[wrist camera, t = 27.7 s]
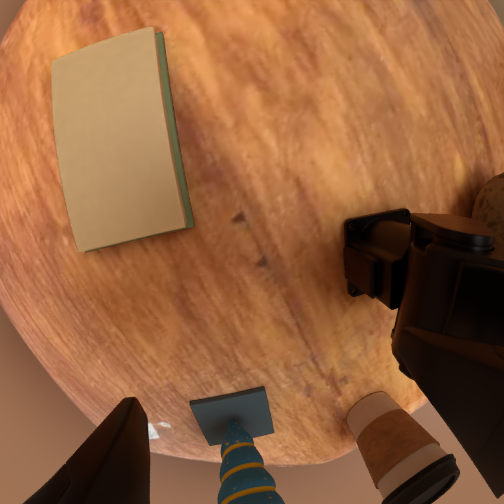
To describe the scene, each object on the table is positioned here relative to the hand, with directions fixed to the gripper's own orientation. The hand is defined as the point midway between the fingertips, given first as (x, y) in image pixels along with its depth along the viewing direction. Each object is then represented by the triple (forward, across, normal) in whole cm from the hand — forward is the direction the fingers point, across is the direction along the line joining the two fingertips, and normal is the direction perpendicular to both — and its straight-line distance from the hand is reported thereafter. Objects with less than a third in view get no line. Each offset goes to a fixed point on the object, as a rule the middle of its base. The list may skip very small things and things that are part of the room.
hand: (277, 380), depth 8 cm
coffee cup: (+13, -12, +22) cm, 28 cm away
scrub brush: (+13, +6, -10) cm, 17 cm away
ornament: (+13, +3, +16) cm, 20 cm away
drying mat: (+13, +3, +16) cm, 21 cm away
